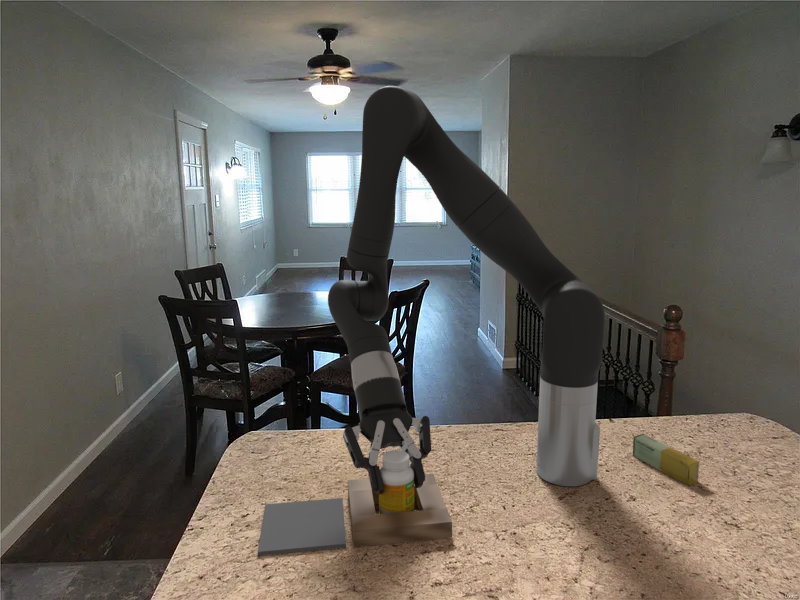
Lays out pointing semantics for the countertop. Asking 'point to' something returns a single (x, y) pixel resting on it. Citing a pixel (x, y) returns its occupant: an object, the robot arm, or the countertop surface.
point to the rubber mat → (302, 526)
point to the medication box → (666, 459)
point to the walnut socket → (398, 516)
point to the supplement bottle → (396, 483)
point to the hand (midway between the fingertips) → (400, 489)
